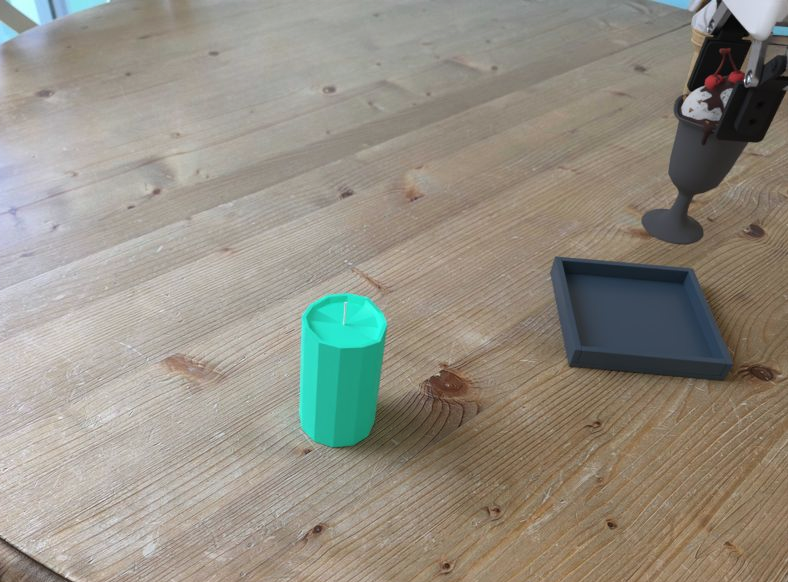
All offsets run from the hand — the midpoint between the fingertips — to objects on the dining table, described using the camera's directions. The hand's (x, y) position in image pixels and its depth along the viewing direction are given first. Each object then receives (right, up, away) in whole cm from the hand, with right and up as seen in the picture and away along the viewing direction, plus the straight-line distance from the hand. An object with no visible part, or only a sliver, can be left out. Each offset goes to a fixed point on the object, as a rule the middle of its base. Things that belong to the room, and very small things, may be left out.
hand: (722, 112), depth 55 cm
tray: (-1, -15, +14) cm, 21 cm away
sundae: (0, -7, +7) cm, 10 cm away
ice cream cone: (+21, +17, +49) cm, 56 cm away
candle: (-28, -23, +5) cm, 37 cm away
